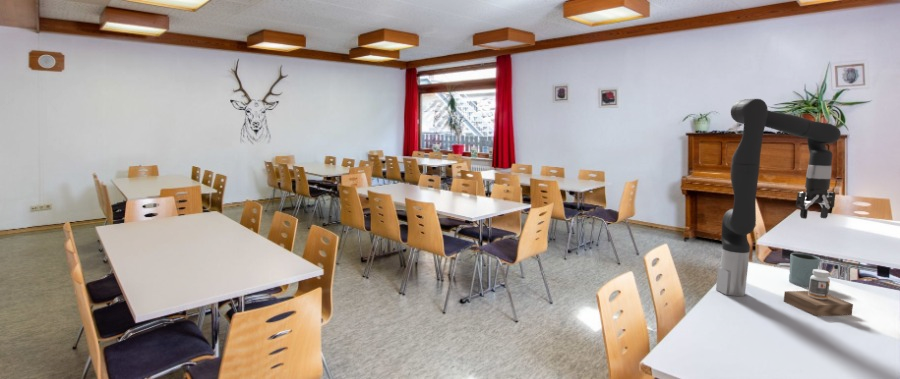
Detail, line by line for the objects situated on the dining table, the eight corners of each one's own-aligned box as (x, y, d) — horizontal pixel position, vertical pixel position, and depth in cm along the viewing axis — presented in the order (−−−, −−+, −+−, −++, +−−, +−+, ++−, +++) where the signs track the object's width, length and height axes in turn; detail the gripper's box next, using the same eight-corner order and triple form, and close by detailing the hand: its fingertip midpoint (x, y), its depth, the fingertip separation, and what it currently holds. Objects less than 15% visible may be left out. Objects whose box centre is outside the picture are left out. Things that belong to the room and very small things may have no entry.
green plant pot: (790, 278, 210) (793, 251, 208) (818, 283, 203) (822, 256, 201) (784, 283, 203) (788, 255, 201) (814, 289, 196) (818, 260, 194)
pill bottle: (830, 301, 171) (834, 274, 170) (812, 299, 173) (815, 272, 172) (822, 295, 177) (826, 269, 176) (804, 293, 178) (808, 267, 177)
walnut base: (815, 316, 168) (816, 305, 167) (783, 301, 181) (784, 291, 181) (851, 315, 169) (853, 304, 169) (817, 300, 183) (818, 290, 182)
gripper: (826, 175, 190) (821, 216, 193) (793, 175, 189) (789, 216, 191) (843, 178, 183) (838, 220, 185) (809, 178, 181) (804, 220, 184)
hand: (813, 218), depth 188 cm, fingers open, 8 cm apart
